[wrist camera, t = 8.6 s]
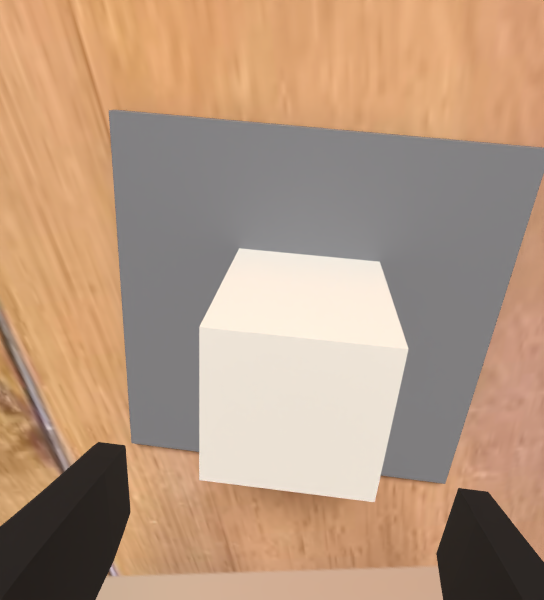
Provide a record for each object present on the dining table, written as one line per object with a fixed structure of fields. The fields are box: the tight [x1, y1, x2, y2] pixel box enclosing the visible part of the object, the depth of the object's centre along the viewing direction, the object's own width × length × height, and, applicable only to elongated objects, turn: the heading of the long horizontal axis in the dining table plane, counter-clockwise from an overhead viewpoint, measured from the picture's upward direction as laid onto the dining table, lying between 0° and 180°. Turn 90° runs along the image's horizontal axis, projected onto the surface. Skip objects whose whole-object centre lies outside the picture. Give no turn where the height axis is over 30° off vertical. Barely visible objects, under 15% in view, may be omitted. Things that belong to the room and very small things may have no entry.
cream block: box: [199, 248, 408, 502], centre depth 15 cm, size 5×5×6 cm
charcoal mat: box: [109, 110, 544, 484], centre depth 18 cm, size 14×14×1 cm
